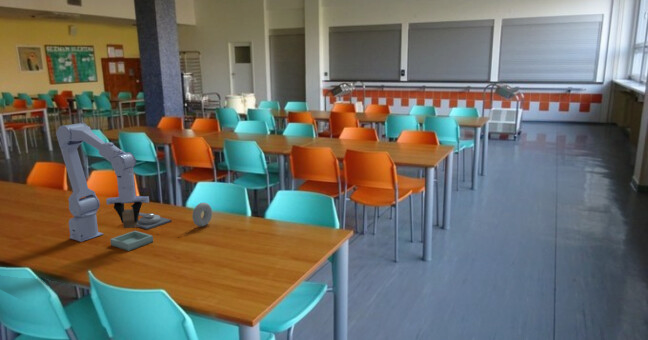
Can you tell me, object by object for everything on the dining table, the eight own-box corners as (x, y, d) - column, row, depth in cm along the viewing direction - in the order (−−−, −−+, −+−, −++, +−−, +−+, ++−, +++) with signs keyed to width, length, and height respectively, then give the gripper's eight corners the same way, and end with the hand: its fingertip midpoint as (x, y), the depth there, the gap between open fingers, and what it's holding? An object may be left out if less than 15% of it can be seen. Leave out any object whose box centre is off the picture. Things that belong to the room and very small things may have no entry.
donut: (197, 230, 194) (196, 206, 192) (191, 229, 196) (189, 205, 194) (214, 223, 203) (213, 200, 201) (208, 221, 205) (206, 199, 202)
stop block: (135, 227, 178) (133, 212, 177) (123, 228, 177) (122, 212, 176) (137, 224, 182) (136, 208, 181) (126, 224, 181) (124, 209, 180)
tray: (128, 251, 174) (128, 244, 173) (111, 245, 179) (110, 239, 179) (153, 241, 182) (152, 235, 182) (135, 236, 188) (135, 230, 187)
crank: (155, 216, 204) (154, 206, 203) (150, 218, 201) (149, 208, 200) (135, 213, 208) (134, 203, 208) (129, 215, 206) (128, 205, 205)
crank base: (147, 229, 196) (147, 224, 195) (129, 224, 202) (128, 219, 202) (171, 221, 206) (171, 216, 205) (153, 216, 212) (152, 211, 211)
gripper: (149, 182, 181) (152, 217, 184) (108, 184, 179) (112, 219, 182) (145, 187, 174) (148, 223, 177) (102, 189, 172) (107, 225, 175)
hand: (130, 221), depth 179 cm, fingers closed on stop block, 4 cm apart
